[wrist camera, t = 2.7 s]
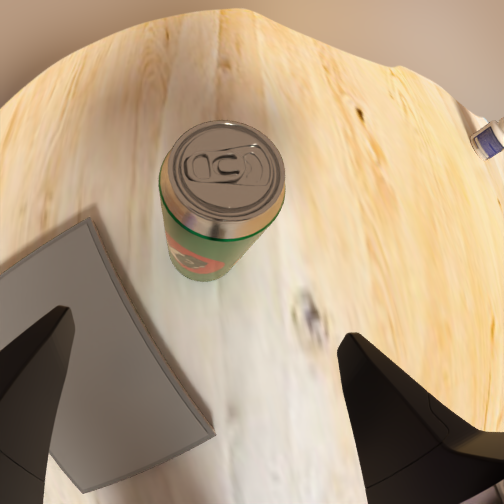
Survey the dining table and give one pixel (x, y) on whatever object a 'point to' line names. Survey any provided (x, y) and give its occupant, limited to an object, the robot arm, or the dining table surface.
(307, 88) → the dining table surface
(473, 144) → the pill bottle
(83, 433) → the slate board
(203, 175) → the soda can
